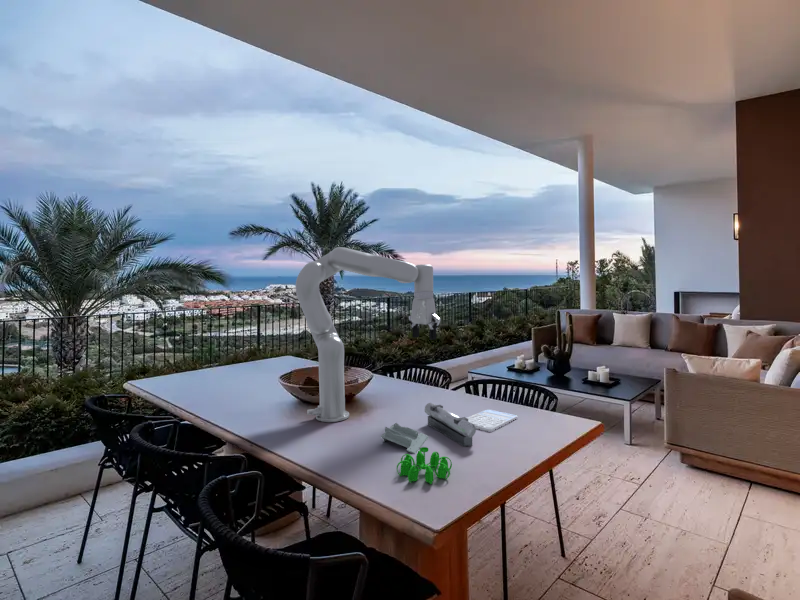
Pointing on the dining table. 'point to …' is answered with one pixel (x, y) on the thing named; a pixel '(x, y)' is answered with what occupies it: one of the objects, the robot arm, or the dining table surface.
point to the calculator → (491, 419)
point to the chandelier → (424, 466)
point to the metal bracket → (405, 437)
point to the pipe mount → (450, 424)
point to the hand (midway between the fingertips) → (424, 338)
